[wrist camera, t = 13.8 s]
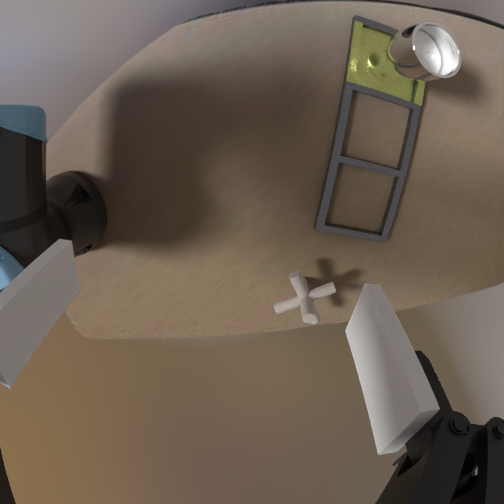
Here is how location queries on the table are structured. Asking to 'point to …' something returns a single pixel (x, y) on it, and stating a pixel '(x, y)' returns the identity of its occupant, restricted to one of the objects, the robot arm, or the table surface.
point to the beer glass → (416, 54)
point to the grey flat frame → (357, 80)
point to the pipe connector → (304, 297)
